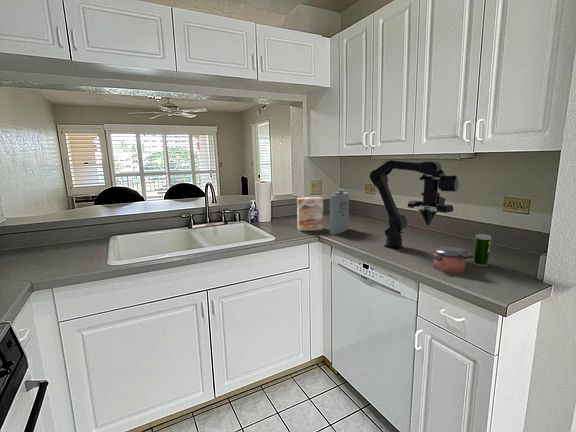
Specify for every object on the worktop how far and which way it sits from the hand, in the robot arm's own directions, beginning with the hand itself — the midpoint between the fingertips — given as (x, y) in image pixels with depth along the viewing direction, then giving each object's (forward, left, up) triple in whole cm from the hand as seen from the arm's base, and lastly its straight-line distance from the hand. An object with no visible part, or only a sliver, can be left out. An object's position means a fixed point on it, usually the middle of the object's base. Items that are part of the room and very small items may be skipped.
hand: (428, 225), depth 138 cm
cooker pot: (+16, -9, -13) cm, 23 cm away
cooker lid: (+18, -10, -7) cm, 21 cm away
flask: (-54, -4, -13) cm, 56 cm away
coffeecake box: (-69, -15, -13) cm, 72 cm away
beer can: (+21, +5, -13) cm, 25 cm away
